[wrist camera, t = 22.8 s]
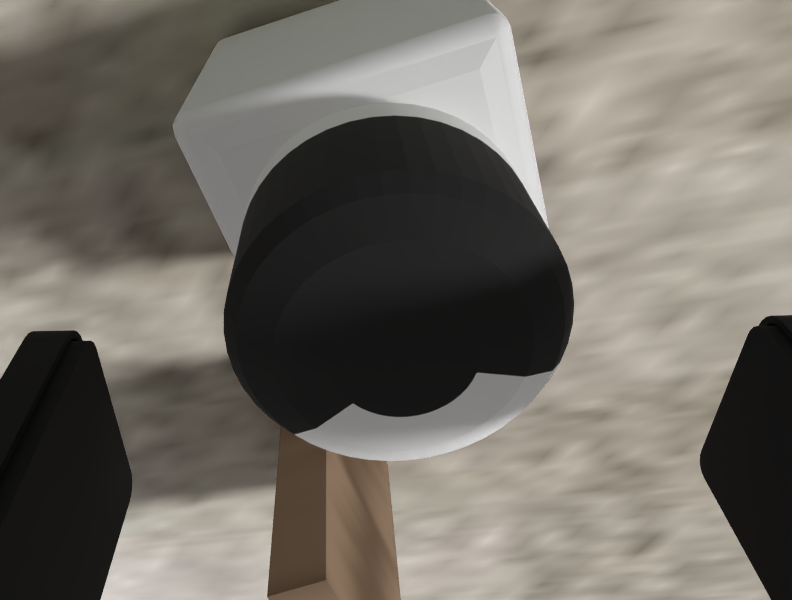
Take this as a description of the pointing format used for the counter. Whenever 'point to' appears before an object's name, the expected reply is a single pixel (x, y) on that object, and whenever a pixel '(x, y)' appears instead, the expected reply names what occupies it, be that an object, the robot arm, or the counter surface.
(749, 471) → the robot arm
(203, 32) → the counter surface
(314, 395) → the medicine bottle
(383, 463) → the door frame
